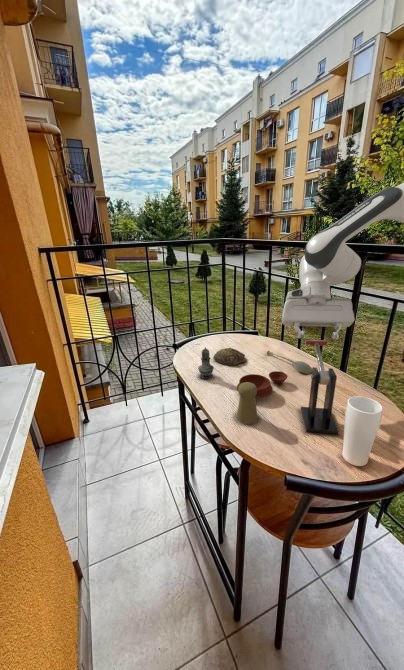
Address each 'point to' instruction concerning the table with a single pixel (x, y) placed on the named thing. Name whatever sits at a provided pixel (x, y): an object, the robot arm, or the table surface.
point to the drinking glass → (360, 429)
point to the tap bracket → (320, 417)
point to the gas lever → (320, 361)
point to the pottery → (264, 382)
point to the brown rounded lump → (229, 356)
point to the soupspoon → (297, 364)
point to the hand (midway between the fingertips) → (318, 338)
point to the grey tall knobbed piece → (205, 366)
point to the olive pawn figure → (247, 403)
